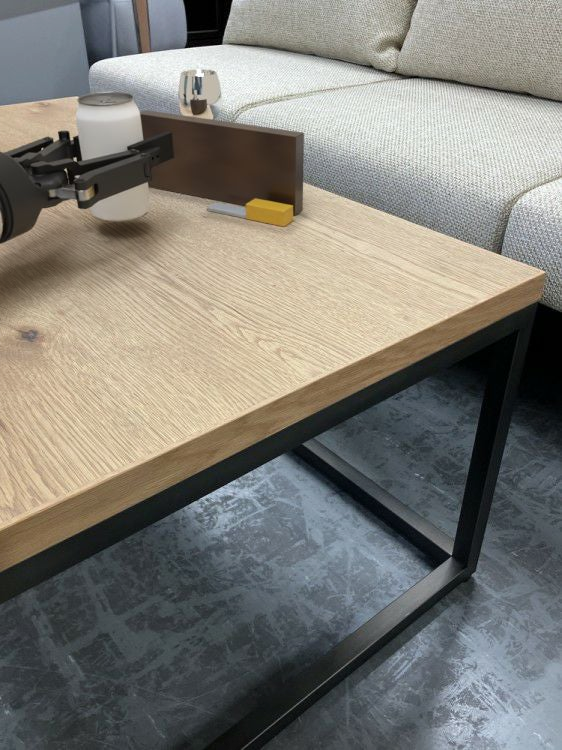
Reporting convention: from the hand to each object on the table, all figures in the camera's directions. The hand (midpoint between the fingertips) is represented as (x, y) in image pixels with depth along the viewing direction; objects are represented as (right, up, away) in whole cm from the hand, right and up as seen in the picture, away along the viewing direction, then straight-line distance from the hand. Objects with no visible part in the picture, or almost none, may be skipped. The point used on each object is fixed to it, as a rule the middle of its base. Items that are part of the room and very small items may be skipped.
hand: (143, 140), depth 77 cm
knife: (+11, -7, +5) cm, 14 cm away
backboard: (+8, -4, +10) cm, 13 cm away
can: (-2, -8, 0) cm, 8 cm away
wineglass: (+4, +3, +21) cm, 21 cm away
